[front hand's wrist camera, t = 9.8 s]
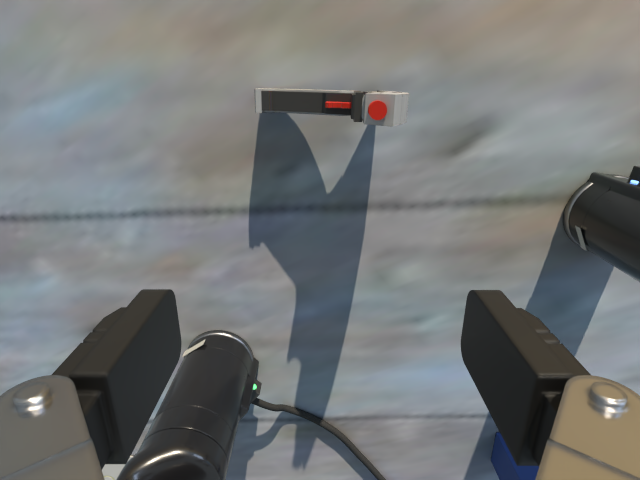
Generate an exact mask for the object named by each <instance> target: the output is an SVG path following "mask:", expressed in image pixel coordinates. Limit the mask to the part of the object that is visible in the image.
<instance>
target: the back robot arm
mask: <svg viewBox="0 0 640 480" xmlns="http://www.w3.org/2000/svg"><path fill="white" fill-rule="evenodd" d="M563 223H564V228H565V231H566V233H567V235H568V237H569V238H570V239H571V240H572V241H573V242H575V243H576V244H578V245H579V246H581V248H582V249H584V250H586V249H587V250H588V251H590V252H592V253H594V254H595V255H597V256H598V257H600V258H602V259H603V260H605V261H606V262H608V263H610V264H611V265H613V266H615V267H616V268H618V269H619V270H621V271H623V272H624V273H626V274H627V275H629V276H631V277H632V278H634V279H635V280H637V281H639V282H640V167H638V166H634V167H633V170H632V172H631V174H630V177H629V178H628V177H623V176H619V175H608V174H602V173H595V172H594V173H592V174H591V176H590V179H589V180H588V182H586V183H585V184H583V185H582V186H581V187H580V188H579V189H578V190H576V192H575V193H574V194H573V195H572V196H571V198H570V199H569V201H568V203H567V205H566V208H565V211H564V217H563Z"/></svg>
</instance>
